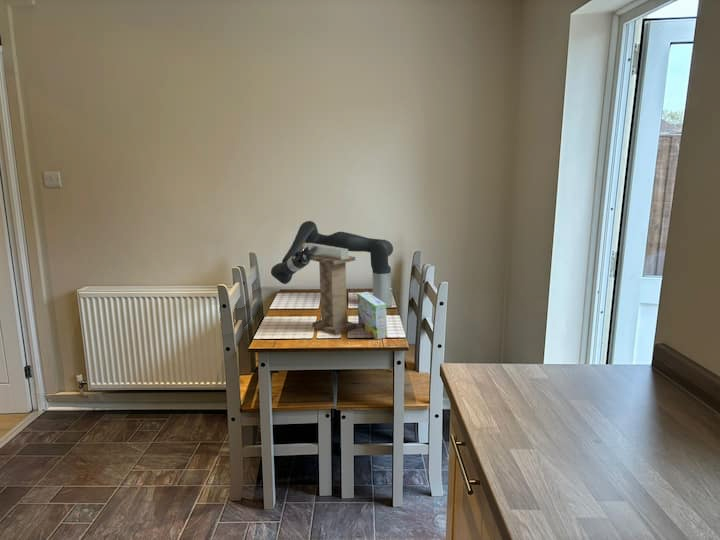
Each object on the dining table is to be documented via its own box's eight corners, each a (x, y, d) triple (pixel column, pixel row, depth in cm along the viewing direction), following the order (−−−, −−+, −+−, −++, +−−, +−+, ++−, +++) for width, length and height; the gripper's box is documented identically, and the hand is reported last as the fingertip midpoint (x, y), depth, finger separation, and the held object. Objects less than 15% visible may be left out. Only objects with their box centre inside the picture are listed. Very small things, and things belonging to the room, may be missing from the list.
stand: (312, 326, 215) (309, 256, 208) (332, 320, 223) (330, 252, 216) (336, 335, 204) (333, 261, 197) (356, 328, 212) (355, 256, 205)
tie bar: (302, 252, 218) (302, 243, 217) (309, 251, 221) (309, 242, 220) (341, 259, 200) (340, 250, 199) (348, 258, 202) (348, 249, 202)
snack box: (357, 325, 217) (356, 292, 213) (368, 323, 219) (368, 291, 215) (375, 340, 197) (374, 305, 194) (387, 338, 199) (387, 303, 196)
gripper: (283, 256, 221) (300, 241, 209) (307, 251, 231) (326, 237, 219) (288, 271, 220) (306, 257, 208) (313, 266, 229) (331, 252, 218)
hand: (316, 247), depth 213 cm, fingers open, 8 cm apart
